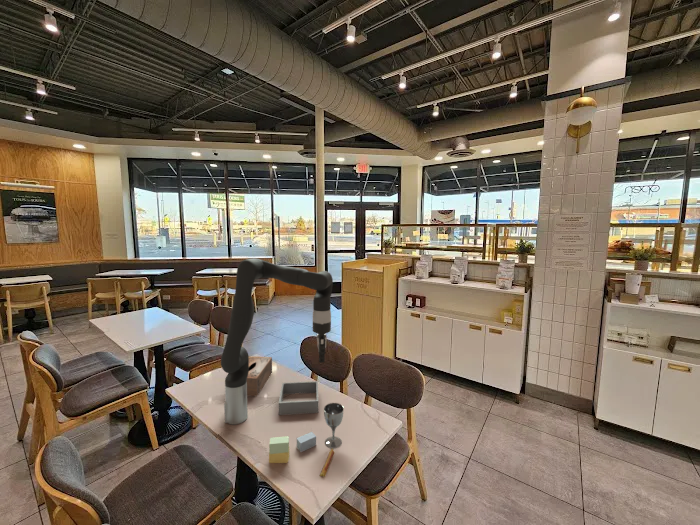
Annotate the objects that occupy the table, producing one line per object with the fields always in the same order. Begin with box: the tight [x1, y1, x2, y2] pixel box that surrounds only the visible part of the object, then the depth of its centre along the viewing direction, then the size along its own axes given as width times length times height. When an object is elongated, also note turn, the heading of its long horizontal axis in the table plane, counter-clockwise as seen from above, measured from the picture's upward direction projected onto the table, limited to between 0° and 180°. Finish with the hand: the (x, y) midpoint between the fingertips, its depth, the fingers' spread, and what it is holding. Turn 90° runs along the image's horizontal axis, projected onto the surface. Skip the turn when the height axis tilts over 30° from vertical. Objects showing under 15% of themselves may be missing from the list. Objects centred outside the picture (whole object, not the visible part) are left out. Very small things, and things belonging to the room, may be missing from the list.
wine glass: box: [323, 402, 345, 450], centre depth 124 cm, size 8×8×15 cm
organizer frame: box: [278, 380, 319, 416], centre depth 152 cm, size 19×19×6 cm
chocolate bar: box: [319, 448, 336, 478], centre depth 113 cm, size 3×12×2 cm, turn 166°
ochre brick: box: [268, 451, 290, 464], centre depth 115 cm, size 7×4×4 cm, turn 92°
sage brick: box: [268, 435, 290, 455], centre depth 114 cm, size 7×4×4 cm, turn 99°
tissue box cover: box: [247, 355, 273, 397], centre depth 170 cm, size 26×14×10 cm, turn 177°
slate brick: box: [296, 431, 317, 453], centre depth 122 cm, size 7×4×4 cm, turn 126°
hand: (321, 357), depth 126 cm, fingers open, 8 cm apart
